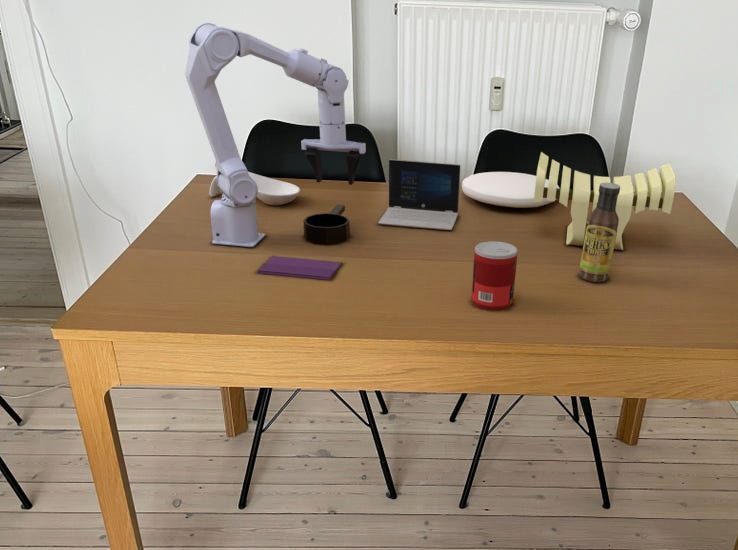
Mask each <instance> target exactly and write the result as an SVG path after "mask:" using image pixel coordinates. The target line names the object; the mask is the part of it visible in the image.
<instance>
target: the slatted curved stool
mask: <svg viewBox="0 0 738 550" xmlns="http://www.w3.org/2000/svg"><path fill="white" fill-rule="evenodd" d="M548 165H549V156H548V155H547V154H545V153H544V152H543V151H541V152H540V155H539V160H538V164H537V169H536V175H535V176H536V185H535V195H534V202H536V201H542V200H543V198H547V201H553V202H556V200H558V203H559V204H561V205H563V206H564V207H566V208H568V203H569V201H570V202H571V203H570V214H569V215H570V217H571V221H570V223H569V224H568V226H567V227H566V228H567V229H566V242H565V243H566V245H567V246H578V247H579V246H580V247H583V246H584V240H585V234H586V228H587V226H588V214H589V213H588V212H589V207H590V203H591V209H590V214H591V213H592V212H593V210H594V209H595V208H596V207H597V202H598V197H599V186H600V184H601V183H611V176H599V175H593V184H592V185H593V187H592V188H593V191H591V174H588V173H584V172H581V171H579V170H574V173H573V183H572V184H573V185H572V186H573V187H572V189H570V188H571V187H570V186H571V174H572V168H570V167H568V166H567V165H563V168H562V173H561V175H562V176H561V181H560V182H561V184H560V189H558V188H557V185H558V180H559V171H560V162H558V161H556V160H555V159H553V158H552V159H551V164H550V169H549V170H550V171H549V176H548V180H549V184H548V188H547V187H544V186H545V179H547V170H548ZM676 179H677V178H676V175H675V172H674V169H673V166H672V164H671V162H667V163H665V164H662V165H661V166H660V169H659V171H658V169H657V167H655V168H651V169H650V170H647V172H646V177H645V174H644V171H643V172H639V173H635V174H634V176H633V179H632V175H631V174H628V175H624V176H621V175H620V176H613V180H612V183H615V184H618V185H619V186H620V192H619V194H618V197H617V203H616V209H615V210H616V213H617V215H618V218H619V223H618V227H617V235H616V240H615V245H614V250H620V251H623V250H624V245H623V233H624V230H625V228H626V226H627V225H628V223H629V221H630V220H631V214H632V208H633V210H634V214H638V213H640V212H643V211H645V210H646V208H648V210H649V211H659V209H660V210H661V213H666V214H668V215H671V213H672V209H673V208H672V207H673V203H674V199H675V198H674V197H675V193H676V183H677V180H676ZM632 180H633V181H632ZM633 184H634V187H633ZM555 199H556V200H555Z"/></svg>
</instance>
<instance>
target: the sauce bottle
mask: <svg viewBox="0 0 738 550" xmlns="http://www.w3.org/2000/svg"><path fill="white" fill-rule="evenodd" d="M619 192H620V186H619V185H618V184H615V183H613V182H610V183H601V184H600V186H599V197H598V202H597V207H596V208H595V209H594V210H593V212H592V213H591V212H590V214H589V216H588V218H587V222H588V226H587V228H586V234H585V235H584V242H583V246H582V250H581V251H582V252H581V258H580V263H579V271H578V275H579V277H580V279H583V280H585V281H588V282H591V283H603V282H606V281H607V280H608V279H609V273H610V272H611V271H610V270H611V266H612V261H613V255H614V250H615V249H614V245H615V240H616V235H617V227H618V223H619V218H618V215H617V213H616V210H615V209H616V203H617V197H618V194H619Z"/></svg>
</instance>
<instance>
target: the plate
mask: <svg viewBox="0 0 738 550" xmlns="http://www.w3.org/2000/svg"><path fill="white" fill-rule="evenodd" d="M536 176H537V175H534V174H529V173H524V172H523V173H522V172H512V171H488V172H479V173H475V174H471V175H469V176H467V177H465V178H464V179H463V180H462V182H461V190H462V193H463V194H464V195H465V196H466V197H468V198H470V199H472V200H475V201H477V202H480V203H484V204H489V205H494V206H500V207H506V208H518V209H519V208H523V209H524V208H525V209H527V208H538V207H542V206H545V205H549V204H550V203H553V202H554V201H547V198H543V200H542V201H536V202H534V195H535V185H536ZM548 184H549V178H548V179H547V178H545V186H544V187H547V188H548ZM557 188H558V189H561V187H560V186H559V185H558V184H557ZM556 200H557V199H555V201H556Z"/></svg>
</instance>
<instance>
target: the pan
mask: <svg viewBox="0 0 738 550" xmlns="http://www.w3.org/2000/svg"><path fill="white" fill-rule="evenodd" d="M345 211H346V205H345V204H336V205H335V206H334V207H333V208H332V209H331V210H330V212H329V213H328V212H324V213H314V214H311V215H307V216H306V217H305V218H304V219H303V221H302V222H303V238H304V239H305V241H307V242H309V243H311V244H314V245H323V246H331V245H339V244H342V243H345V242H347V241H348V240H349V239H350V238H351V237H350V236H351V231H350V229H351V227H350V219H349V218H348V217H347V216H345V215H343V214H344V212H345Z"/></svg>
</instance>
